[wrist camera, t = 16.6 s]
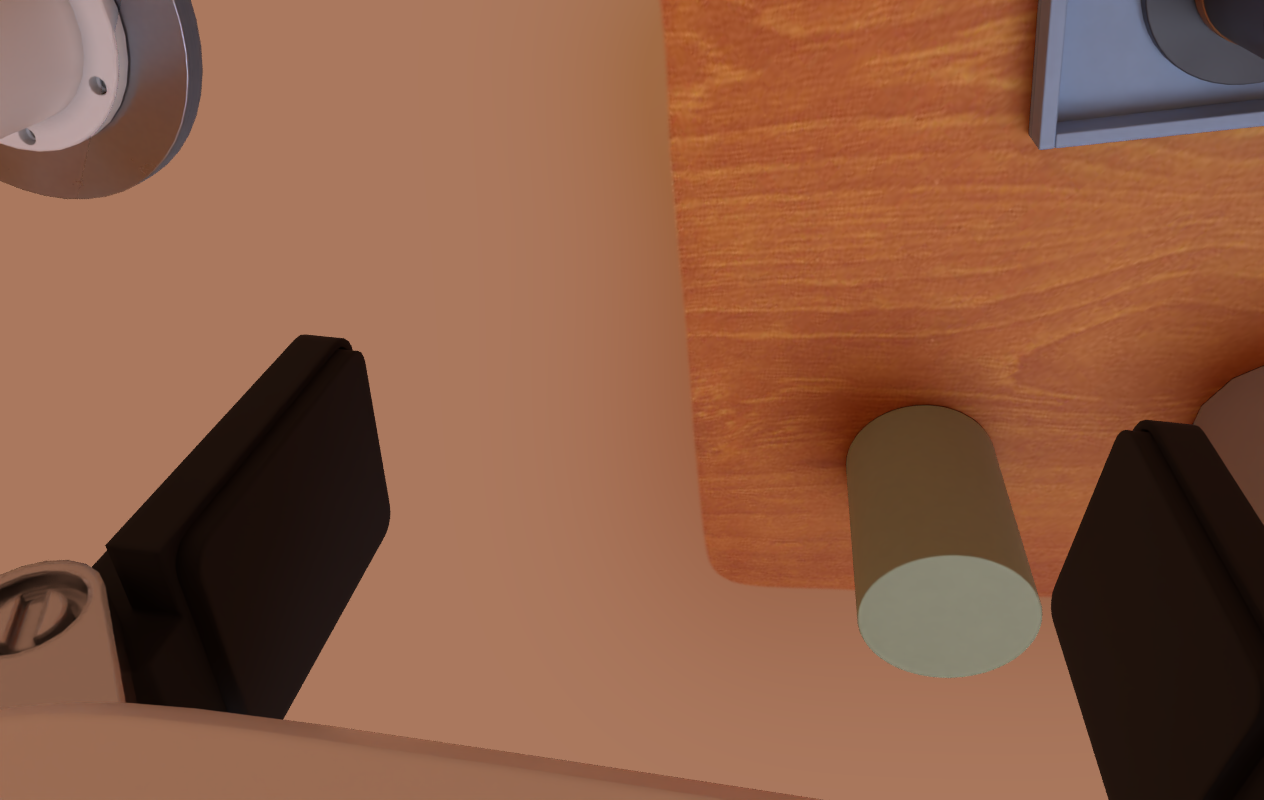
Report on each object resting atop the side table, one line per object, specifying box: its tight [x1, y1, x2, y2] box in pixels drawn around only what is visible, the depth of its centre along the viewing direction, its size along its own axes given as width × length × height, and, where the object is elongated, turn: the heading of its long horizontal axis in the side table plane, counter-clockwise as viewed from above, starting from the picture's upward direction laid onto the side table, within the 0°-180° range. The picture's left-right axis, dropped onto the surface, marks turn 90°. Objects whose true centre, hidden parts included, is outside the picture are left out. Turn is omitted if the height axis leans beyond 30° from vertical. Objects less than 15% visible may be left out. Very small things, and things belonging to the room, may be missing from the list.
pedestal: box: [846, 405, 1042, 678], centre depth 43 cm, size 8×8×11 cm
